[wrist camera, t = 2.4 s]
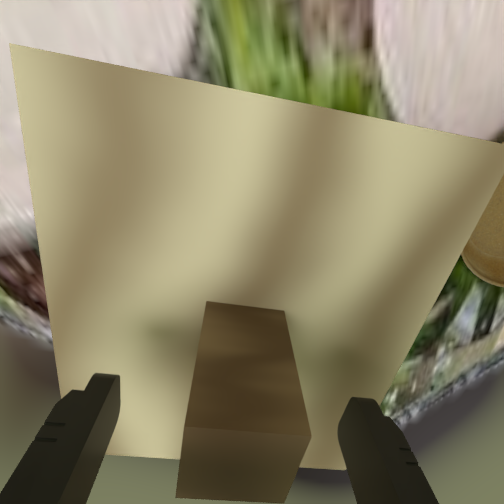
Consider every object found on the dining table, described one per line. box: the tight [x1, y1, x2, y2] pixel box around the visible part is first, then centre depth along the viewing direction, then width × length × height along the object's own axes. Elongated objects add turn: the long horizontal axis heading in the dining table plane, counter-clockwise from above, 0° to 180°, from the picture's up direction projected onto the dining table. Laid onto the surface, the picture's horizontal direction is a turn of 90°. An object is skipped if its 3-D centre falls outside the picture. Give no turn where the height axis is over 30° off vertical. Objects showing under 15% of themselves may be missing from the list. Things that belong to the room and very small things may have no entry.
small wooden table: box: [9, 43, 504, 503], centre depth 16 cm, size 16×19×18 cm
